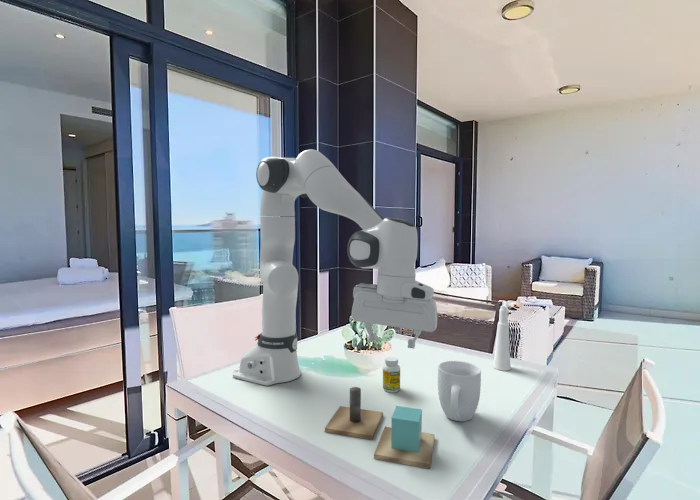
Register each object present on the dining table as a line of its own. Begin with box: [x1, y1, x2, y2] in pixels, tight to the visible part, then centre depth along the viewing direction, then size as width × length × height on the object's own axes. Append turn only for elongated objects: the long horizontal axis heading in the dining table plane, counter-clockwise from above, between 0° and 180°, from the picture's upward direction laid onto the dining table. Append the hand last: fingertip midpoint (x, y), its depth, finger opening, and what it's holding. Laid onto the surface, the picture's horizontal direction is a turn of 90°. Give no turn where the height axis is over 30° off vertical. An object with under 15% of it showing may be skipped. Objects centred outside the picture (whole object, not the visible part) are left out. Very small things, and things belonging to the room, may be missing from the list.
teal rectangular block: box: [391, 405, 423, 453], centre depth 90 cm, size 6×6×7 cm
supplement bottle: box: [382, 356, 401, 393], centre depth 121 cm, size 5×5×10 cm
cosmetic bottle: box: [492, 305, 512, 372], centre depth 138 cm, size 6×6×22 cm
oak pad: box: [373, 426, 436, 469], centre depth 90 cm, size 12×12×1 cm
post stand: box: [324, 386, 384, 441], centre depth 100 cm, size 12×12×9 cm
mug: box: [437, 360, 482, 422], centre depth 103 cm, size 15×11×13 cm
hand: (391, 344), depth 94 cm, fingers open, 8 cm apart
